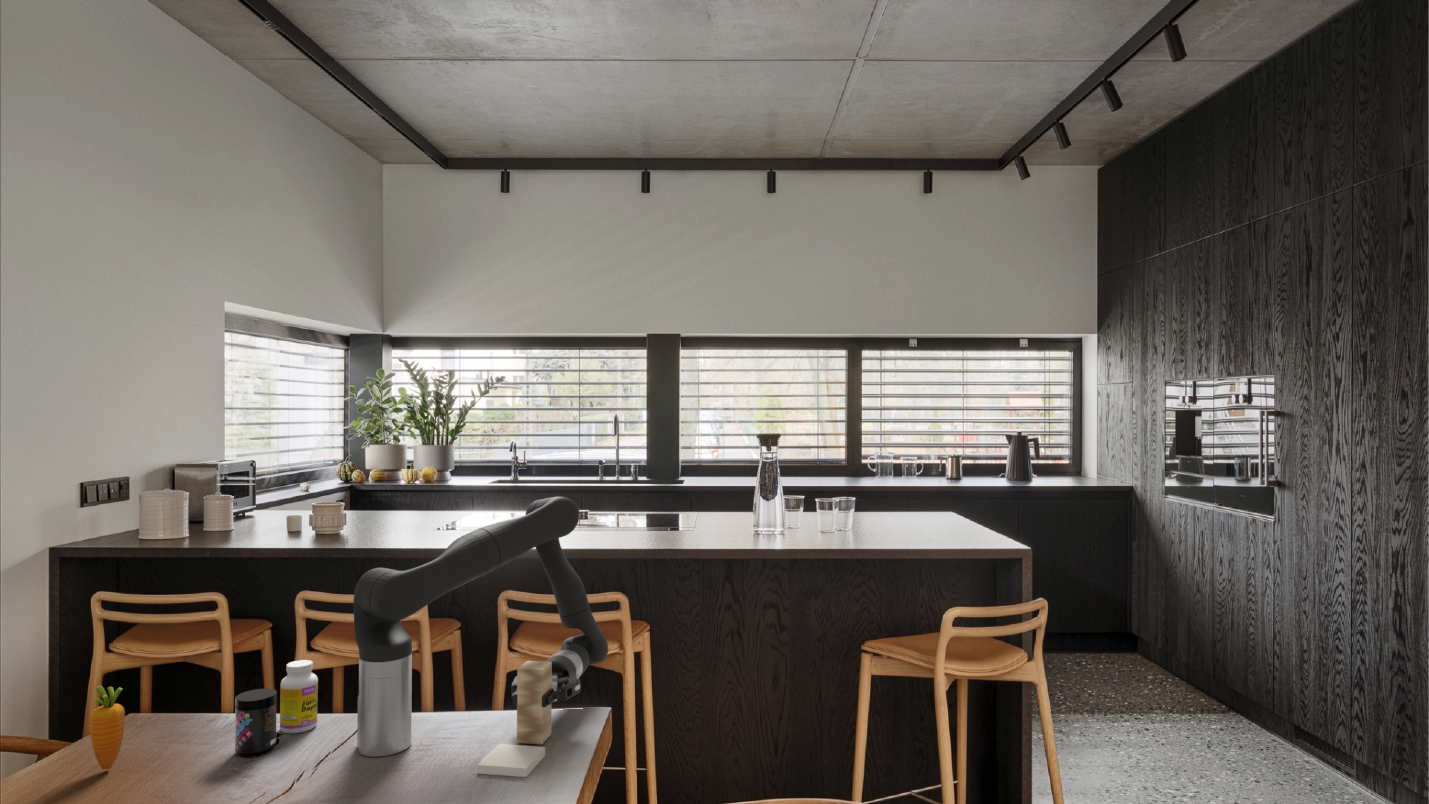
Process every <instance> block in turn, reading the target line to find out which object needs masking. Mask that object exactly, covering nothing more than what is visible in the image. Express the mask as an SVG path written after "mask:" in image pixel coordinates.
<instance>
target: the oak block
mask: <svg viewBox="0 0 1429 804" xmlns="http://www.w3.org/2000/svg"><path fill="white" fill-rule="evenodd" d="M516 671H517V672H516V673H517V675H516V676H517V705H516V743H518V744H530V745H543V744H544V743H545V742H546V741H547V740H548V738H549V737H550V736H551V735H552V703H553V702H552V703H551V704H550V705H548V706H547V707H542V696H543V695H544V694H545V693H546V692H547V691H548V690H551V687H552V662H546V661H542V660H541V661H538V660H526V661H525V662H524V663H522V664H521V665H520V666H519V667H518V668H517V669H516Z"/></svg>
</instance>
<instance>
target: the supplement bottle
mask: <svg viewBox="0 0 1429 804" xmlns="http://www.w3.org/2000/svg"><path fill="white" fill-rule="evenodd" d="M313 666H314V662H313V661H312V660H310V659H309V660H308V659H301V660H294V661H290V662H288V663H287V664H286V669H285V671H286V673H287V675H286V676H285V677H284V678H282V679H281V681H280V697H279V698H280V699H279V701H280V702H279V703H280V705H279V710H280V711H279V730H280V732H282V733H285V734H300V733H305V732H308V731H310V730H312V729H314V728H315V727H316V725H318V694H319V693H318V692H319V691H318V690H319V678H318V676H317V675H316V674H315V673H314V672H312V670H313V669H314V667H313Z"/></svg>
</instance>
